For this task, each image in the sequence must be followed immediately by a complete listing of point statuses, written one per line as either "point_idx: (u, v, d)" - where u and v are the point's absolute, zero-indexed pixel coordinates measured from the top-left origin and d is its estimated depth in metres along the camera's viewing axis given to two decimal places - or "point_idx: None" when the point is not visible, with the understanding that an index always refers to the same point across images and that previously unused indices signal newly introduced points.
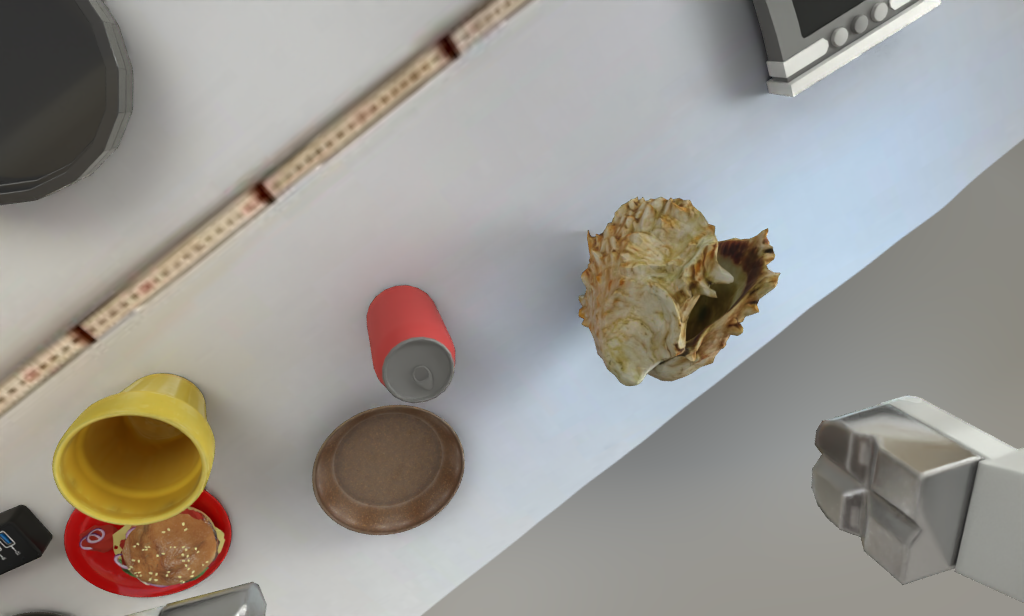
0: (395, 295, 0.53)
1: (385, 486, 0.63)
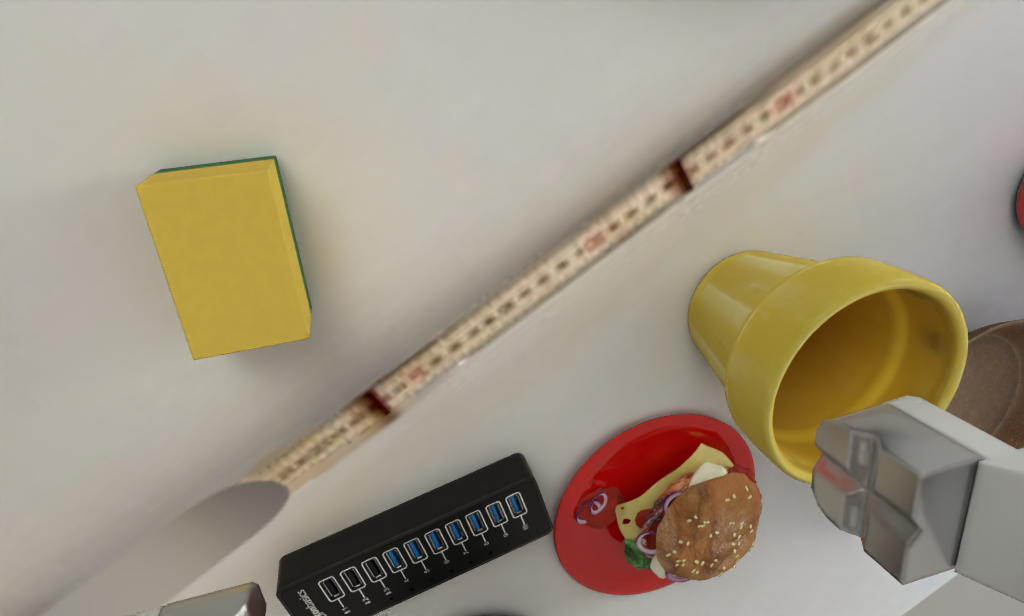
0: None
1: None
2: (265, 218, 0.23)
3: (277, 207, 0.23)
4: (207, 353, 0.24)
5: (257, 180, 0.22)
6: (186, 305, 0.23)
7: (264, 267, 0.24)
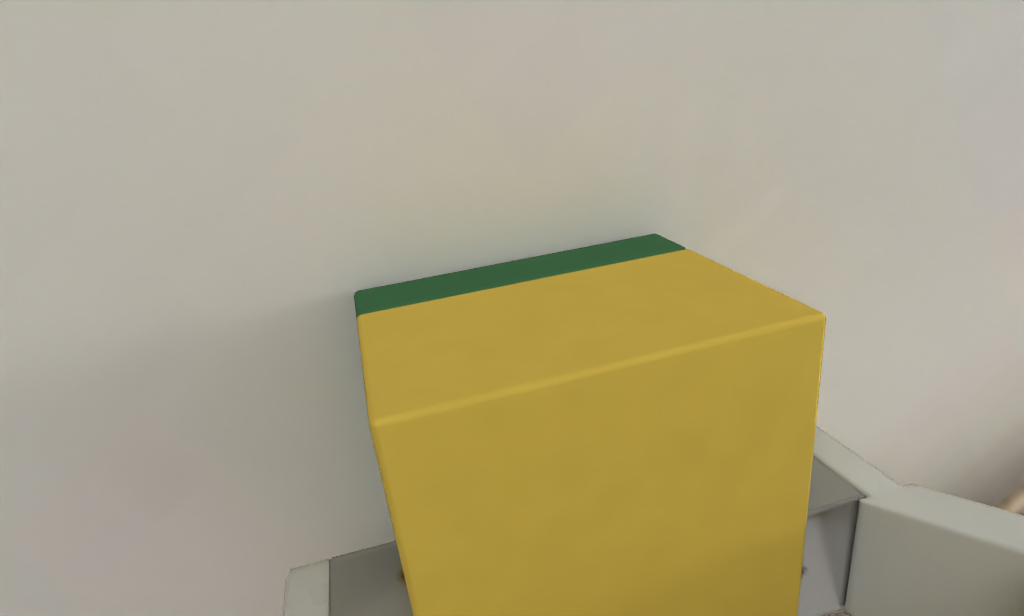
0: None
1: None
2: (773, 476, 0.07)
3: (809, 433, 0.07)
4: None
5: (787, 355, 0.06)
6: None
7: (730, 615, 0.07)
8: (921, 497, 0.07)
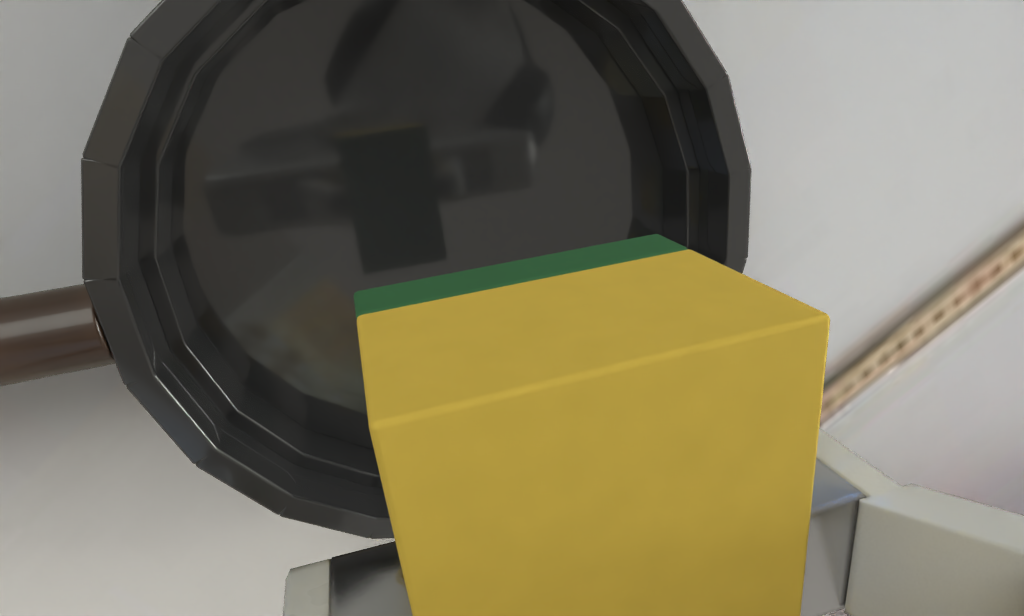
0: None
1: None
2: (777, 478, 0.06)
3: None
4: None
5: (791, 357, 0.06)
6: None
7: None
8: (922, 497, 0.07)
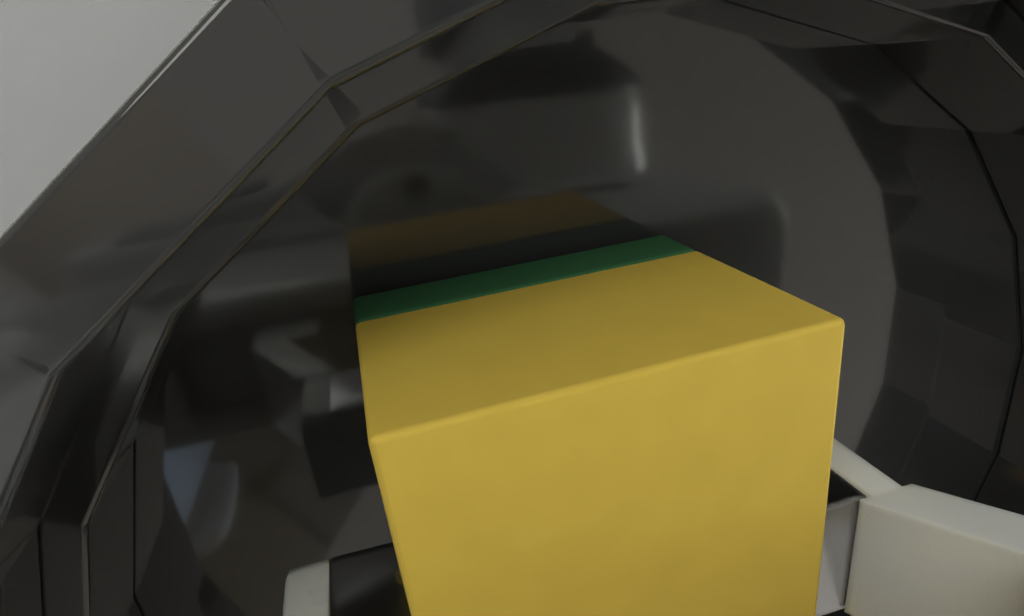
0: None
1: None
2: (789, 486, 0.06)
3: (826, 442, 0.06)
4: None
5: (804, 362, 0.06)
6: None
7: None
8: (922, 497, 0.07)
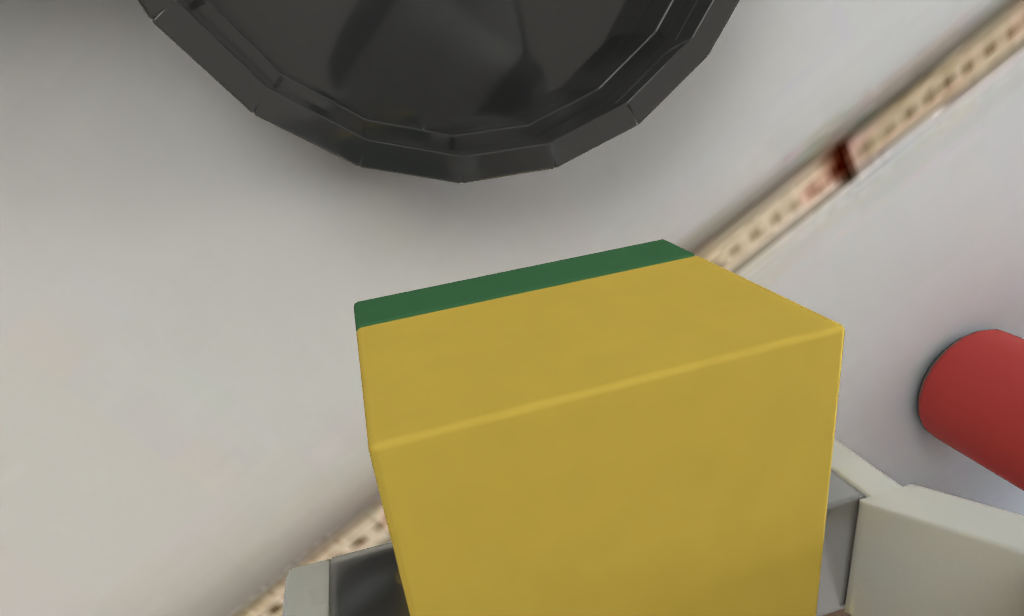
0: None
1: None
2: (790, 493, 0.06)
3: None
4: None
5: (804, 369, 0.06)
6: None
7: None
8: (922, 497, 0.07)
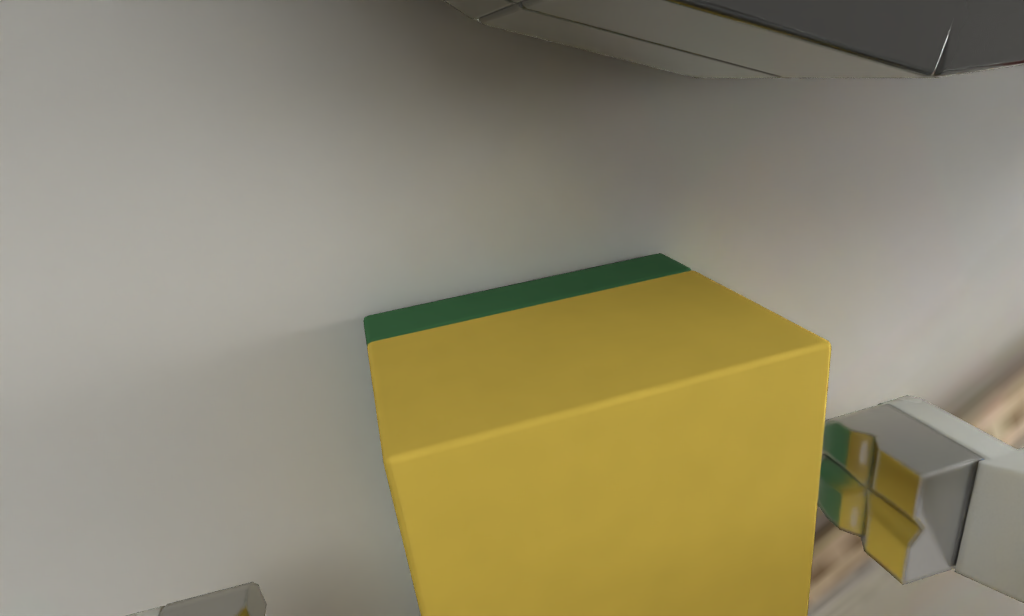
0: None
1: None
2: (781, 500, 0.07)
3: None
4: None
5: (793, 383, 0.06)
6: None
7: None
8: None
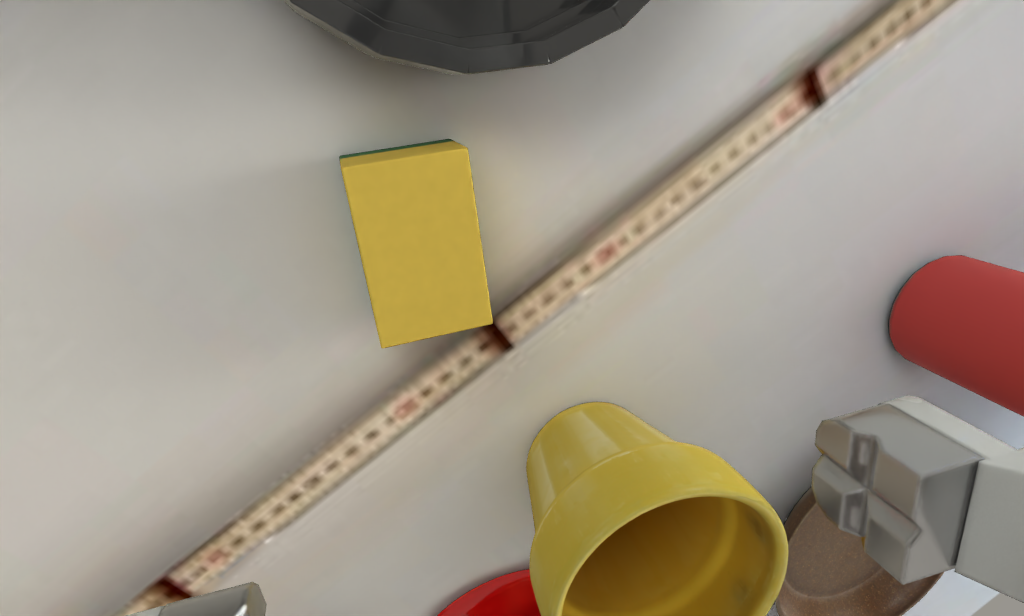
0: (987, 270, 0.32)
1: (835, 568, 0.41)
2: (461, 199, 0.22)
3: (472, 187, 0.22)
4: (395, 341, 0.24)
5: (457, 159, 0.22)
6: (379, 291, 0.23)
7: (456, 250, 0.23)
8: None
